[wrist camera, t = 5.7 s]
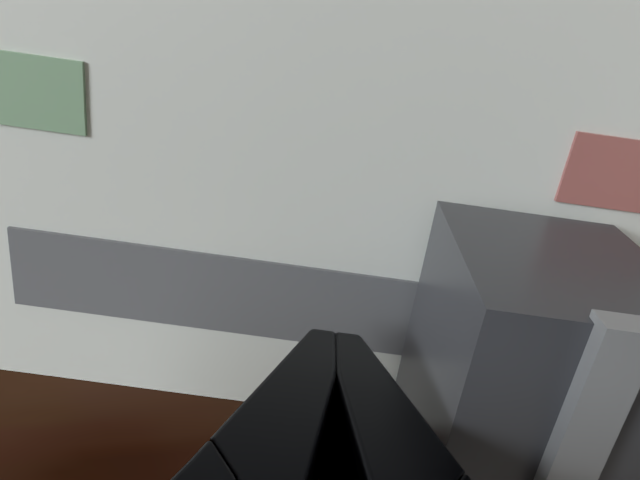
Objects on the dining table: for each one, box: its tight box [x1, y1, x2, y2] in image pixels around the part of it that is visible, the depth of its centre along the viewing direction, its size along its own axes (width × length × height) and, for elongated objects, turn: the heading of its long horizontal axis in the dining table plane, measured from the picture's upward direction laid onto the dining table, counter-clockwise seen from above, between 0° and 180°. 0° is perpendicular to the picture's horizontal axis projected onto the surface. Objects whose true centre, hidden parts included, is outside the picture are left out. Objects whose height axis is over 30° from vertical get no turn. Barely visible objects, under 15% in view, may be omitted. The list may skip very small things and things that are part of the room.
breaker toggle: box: [396, 201, 640, 480], centre depth 9 cm, size 5×3×4 cm, turn 173°
